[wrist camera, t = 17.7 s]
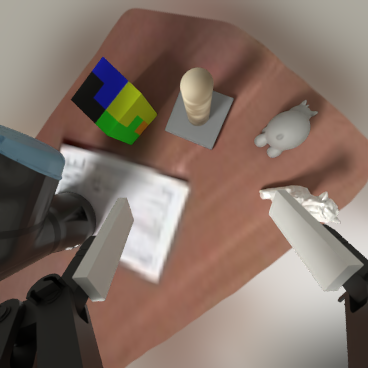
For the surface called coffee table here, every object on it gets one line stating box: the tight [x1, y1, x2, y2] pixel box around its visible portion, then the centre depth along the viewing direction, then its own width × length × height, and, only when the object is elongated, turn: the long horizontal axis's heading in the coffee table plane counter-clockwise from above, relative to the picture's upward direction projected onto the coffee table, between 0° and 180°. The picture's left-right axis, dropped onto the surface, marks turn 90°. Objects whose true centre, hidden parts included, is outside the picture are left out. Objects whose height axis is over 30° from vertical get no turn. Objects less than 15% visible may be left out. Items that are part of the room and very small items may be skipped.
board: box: [165, 90, 234, 150], centre depth 35 cm, size 12×12×1 cm
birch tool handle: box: [180, 68, 213, 126], centre depth 29 cm, size 5×5×12 cm
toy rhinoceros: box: [254, 100, 318, 158], centre depth 30 cm, size 7×12×8 cm, turn 136°
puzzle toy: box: [71, 57, 157, 145], centre depth 33 cm, size 10×10×10 cm
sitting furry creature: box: [260, 185, 341, 224], centre depth 29 cm, size 10×9×12 cm
